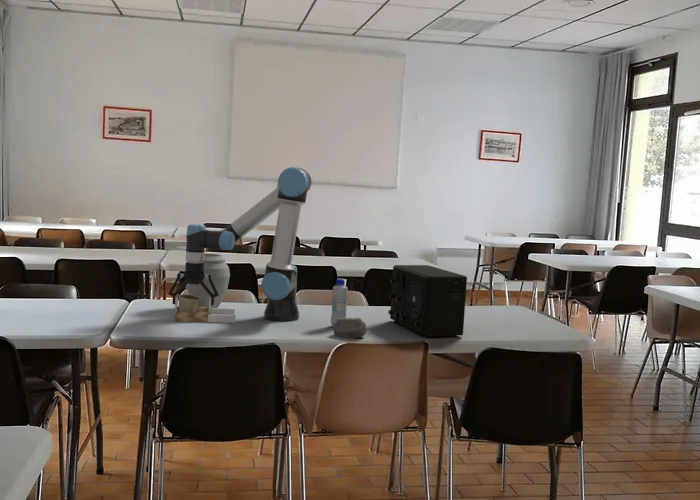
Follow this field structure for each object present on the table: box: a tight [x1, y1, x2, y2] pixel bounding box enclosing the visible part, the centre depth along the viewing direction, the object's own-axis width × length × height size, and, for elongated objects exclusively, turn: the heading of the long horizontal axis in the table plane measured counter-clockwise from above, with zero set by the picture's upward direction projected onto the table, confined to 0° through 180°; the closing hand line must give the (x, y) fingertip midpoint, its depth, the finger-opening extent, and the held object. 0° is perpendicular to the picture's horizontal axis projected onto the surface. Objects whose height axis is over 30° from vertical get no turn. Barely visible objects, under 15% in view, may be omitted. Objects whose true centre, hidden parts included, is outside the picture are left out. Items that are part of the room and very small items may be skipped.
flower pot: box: [177, 294, 201, 312], centre depth 291 cm, size 9×9×9 cm
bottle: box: [330, 278, 349, 328], centre depth 289 cm, size 7×7×20 cm
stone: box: [333, 317, 368, 339], centre depth 273 cm, size 12×8×8 cm, turn 72°
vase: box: [186, 253, 231, 308], centre depth 311 cm, size 20×20×24 cm
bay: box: [207, 307, 236, 323], centre depth 294 cm, size 11×15×3 cm
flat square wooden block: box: [174, 305, 211, 323], centre depth 291 cm, size 14×14×4 cm
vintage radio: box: [388, 264, 468, 339], centre depth 294 cm, size 38×20×25 cm, turn 21°
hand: (192, 312), depth 291 cm, fingers open, 13 cm apart
